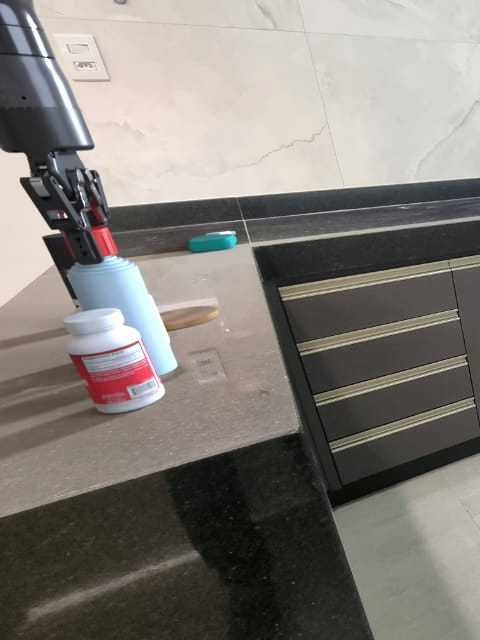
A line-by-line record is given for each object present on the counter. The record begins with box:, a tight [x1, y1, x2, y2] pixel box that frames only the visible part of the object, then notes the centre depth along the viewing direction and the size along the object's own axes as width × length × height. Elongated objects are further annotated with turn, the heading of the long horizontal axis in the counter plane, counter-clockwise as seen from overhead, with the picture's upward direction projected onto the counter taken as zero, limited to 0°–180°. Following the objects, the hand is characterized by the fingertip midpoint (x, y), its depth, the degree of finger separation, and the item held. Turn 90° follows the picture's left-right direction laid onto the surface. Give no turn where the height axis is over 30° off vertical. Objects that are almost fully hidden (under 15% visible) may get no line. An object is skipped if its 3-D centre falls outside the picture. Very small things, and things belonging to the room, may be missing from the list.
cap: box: [63, 226, 119, 259], centre depth 64 cm, size 4×4×3 cm
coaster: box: [159, 305, 220, 331], centre depth 90 cm, size 10×10×1 cm
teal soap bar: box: [187, 230, 238, 254], centre depth 155 cm, size 3×11×24 cm
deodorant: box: [41, 232, 79, 309], centre depth 88 cm, size 6×6×15 cm
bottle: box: [67, 255, 178, 377], centre depth 67 cm, size 6×6×18 cm
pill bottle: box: [62, 308, 166, 414], centre depth 60 cm, size 6×6×11 cm
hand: (99, 259), depth 65 cm, fingers closed on cap, 4 cm apart
